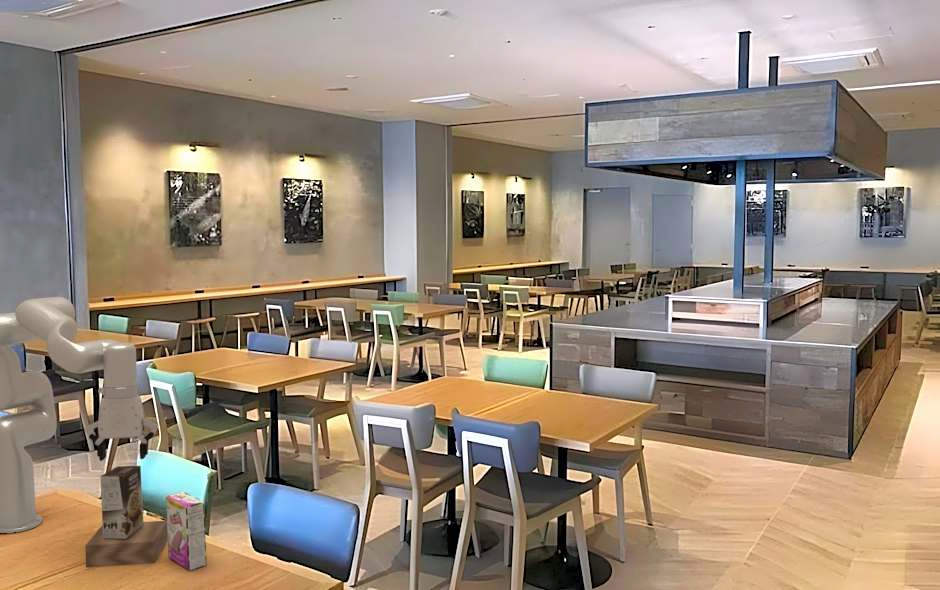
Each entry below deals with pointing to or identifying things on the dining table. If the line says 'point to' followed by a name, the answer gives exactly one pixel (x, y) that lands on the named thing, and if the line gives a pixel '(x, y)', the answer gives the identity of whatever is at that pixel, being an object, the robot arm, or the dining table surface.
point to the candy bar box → (186, 530)
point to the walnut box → (127, 546)
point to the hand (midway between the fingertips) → (123, 458)
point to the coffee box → (121, 502)
